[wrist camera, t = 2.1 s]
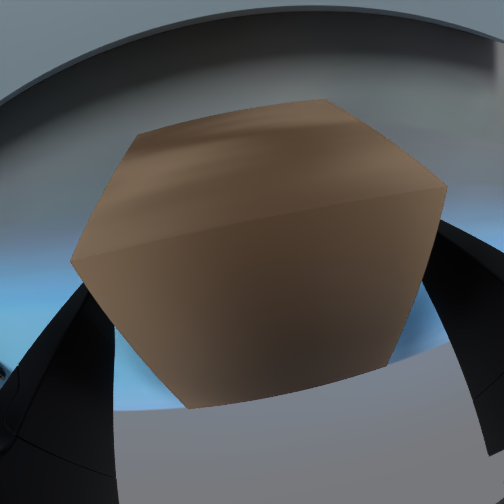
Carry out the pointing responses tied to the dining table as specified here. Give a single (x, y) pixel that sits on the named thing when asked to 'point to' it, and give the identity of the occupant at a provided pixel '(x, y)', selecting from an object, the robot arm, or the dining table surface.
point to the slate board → (178, 26)
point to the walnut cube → (261, 250)
